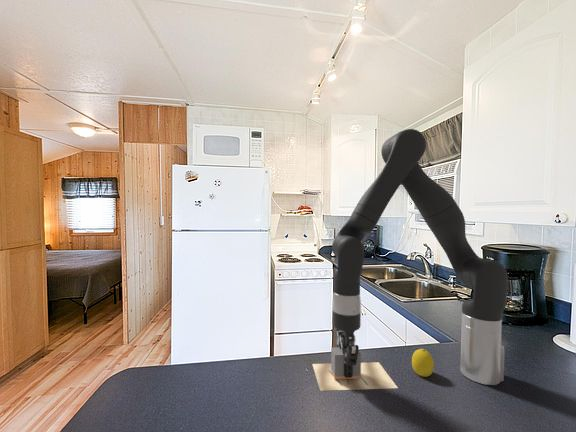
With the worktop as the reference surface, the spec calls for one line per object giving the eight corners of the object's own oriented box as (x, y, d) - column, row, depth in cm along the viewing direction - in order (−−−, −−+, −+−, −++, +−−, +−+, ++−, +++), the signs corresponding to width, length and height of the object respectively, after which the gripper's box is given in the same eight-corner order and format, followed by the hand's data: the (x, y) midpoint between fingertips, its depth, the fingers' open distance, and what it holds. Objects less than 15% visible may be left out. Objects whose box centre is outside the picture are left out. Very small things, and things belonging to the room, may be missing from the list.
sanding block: (355, 369, 77) (355, 346, 77) (360, 378, 73) (360, 354, 73) (331, 370, 76) (331, 347, 76) (334, 379, 72) (335, 355, 72)
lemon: (430, 373, 78) (431, 345, 78) (435, 385, 73) (436, 355, 73) (409, 370, 80) (410, 343, 80) (413, 381, 74) (413, 352, 74)
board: (378, 366, 81) (378, 362, 81) (397, 392, 69) (398, 387, 69) (312, 368, 80) (312, 363, 80) (320, 395, 68) (320, 390, 68)
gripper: (369, 318, 67) (368, 387, 68) (351, 300, 82) (350, 357, 82) (339, 319, 67) (339, 389, 67) (327, 300, 81) (326, 358, 81)
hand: (345, 371), depth 74 cm, fingers closed on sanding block, 4 cm apart
